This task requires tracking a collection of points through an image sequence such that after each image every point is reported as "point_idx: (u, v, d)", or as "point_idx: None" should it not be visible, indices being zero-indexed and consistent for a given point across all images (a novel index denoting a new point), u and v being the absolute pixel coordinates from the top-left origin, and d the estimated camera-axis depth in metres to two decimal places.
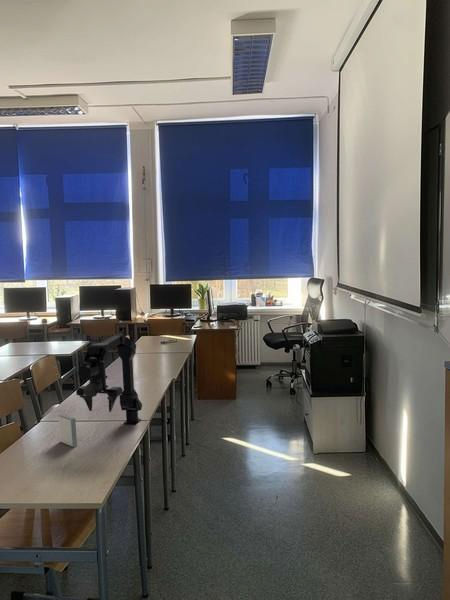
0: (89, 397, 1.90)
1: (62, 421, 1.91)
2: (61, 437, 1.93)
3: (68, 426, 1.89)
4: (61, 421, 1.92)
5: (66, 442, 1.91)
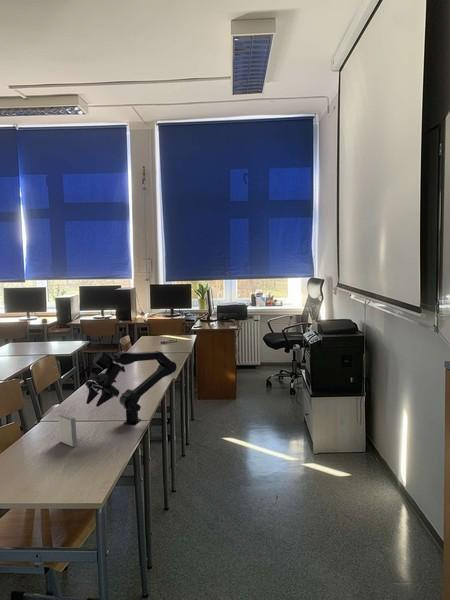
0: (93, 392, 2.06)
1: (62, 421, 1.91)
2: (61, 437, 1.93)
3: (68, 426, 1.89)
4: (61, 421, 1.92)
5: (66, 442, 1.91)
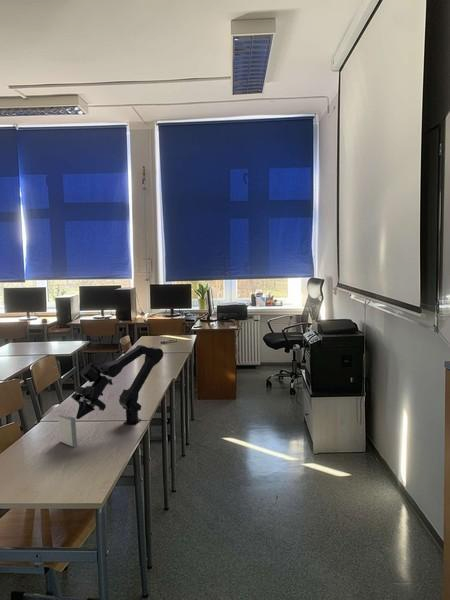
0: None
1: (62, 421, 1.91)
2: (61, 437, 1.93)
3: (68, 426, 1.89)
4: (61, 421, 1.92)
5: (66, 442, 1.91)
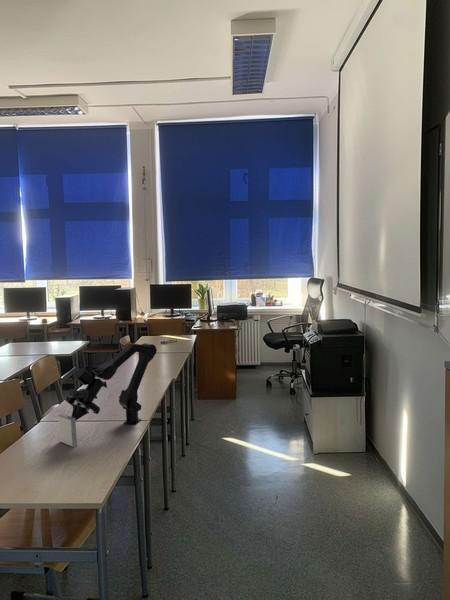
0: None
1: (62, 421, 1.91)
2: (61, 437, 1.93)
3: (68, 426, 1.89)
4: (61, 421, 1.92)
5: (66, 442, 1.91)
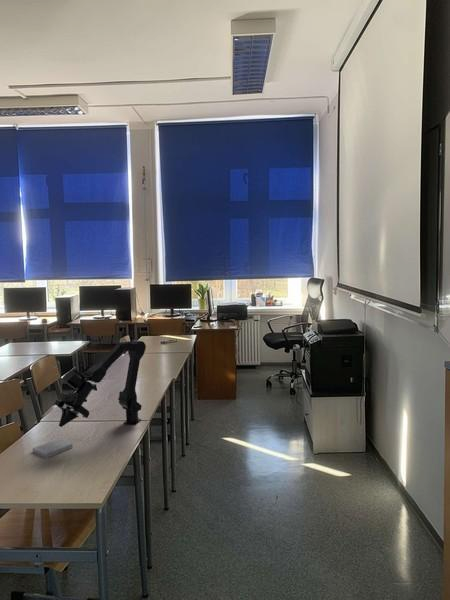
0: None
1: None
2: None
3: None
4: None
5: None
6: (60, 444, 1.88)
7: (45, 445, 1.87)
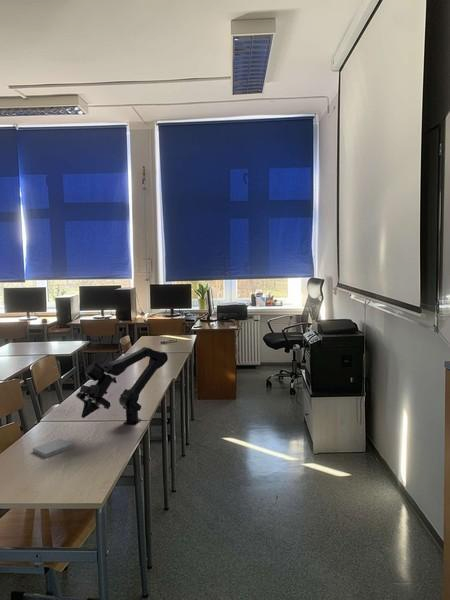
0: None
1: None
2: None
3: None
4: None
5: None
6: (60, 444, 1.88)
7: (45, 445, 1.87)
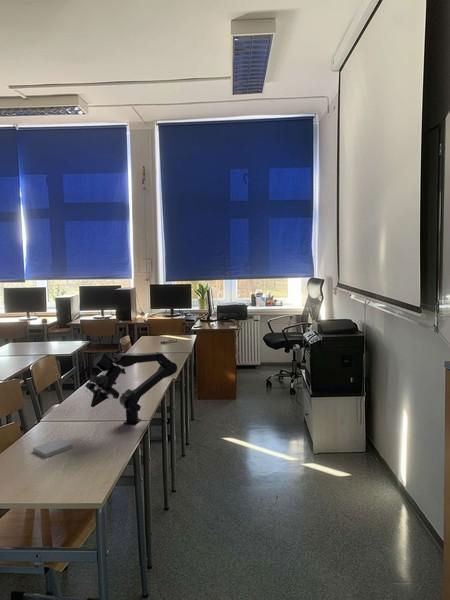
0: None
1: None
2: None
3: None
4: None
5: None
6: (60, 443, 1.88)
7: (45, 445, 1.87)
